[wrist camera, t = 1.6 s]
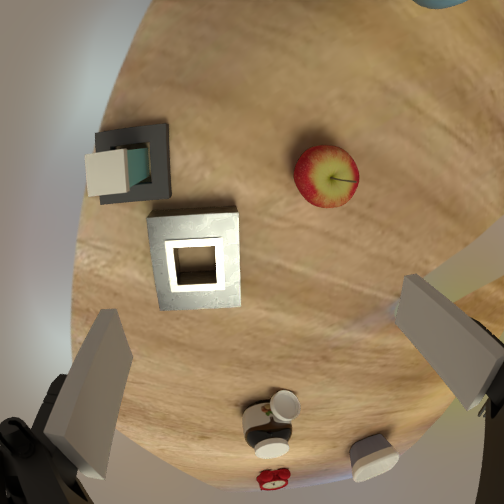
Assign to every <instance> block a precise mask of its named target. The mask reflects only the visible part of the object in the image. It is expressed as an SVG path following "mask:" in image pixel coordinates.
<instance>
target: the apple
mask: <svg viewBox="0 0 504 504" xmlns="http://www.w3.org/2000/svg"><path fill="white" fill-rule="evenodd" d="M294 181H295V184H296V186H297V188H298V190H299V192H300V193H301V195H302V196H303V197H304V198H305V199H306V200H307V201H308V202H309V203H311V204H312V205H314V206H317V207H322V208H334V207H339V206H342V205H344V204H345V203H347V202H348V201H349V200H350V199H351V198H352V196H353V195H354V193H355V191H356V189H357V187H358V183H359V171H358V168H357V166H356V164H355V162H354V160H353V159H352V157H351V156H350V155H349V154H348V153H347V152H346V151H345V150H343V149H341V148H339V147H336V146H330V145H320V146H314V147H311V148H309V149H308V150H306V151H305V152H304V153H303V154H302V155H301V157H300V158H299V160H298V162H297V164H296V166H295V170H294Z"/></svg>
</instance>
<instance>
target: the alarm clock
mask: <svg viewBox="0 0 504 504" xmlns="http://www.w3.org/2000/svg"><path fill="white" fill-rule="evenodd" d="M289 477H290V471H289V470H288V469H285V468H283V469H280V470H274V471H269V470H265V471H263V472H261V474H260V475H259V476H258V477H257V481H258V483H259V485H260V488H261V490H277V489H280V488H283V487H285V486H286V485H287V484H288V480H287V479H288V478H289Z"/></svg>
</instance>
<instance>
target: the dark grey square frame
mask: <svg viewBox="0 0 504 504" xmlns="http://www.w3.org/2000/svg"><path fill="white" fill-rule="evenodd" d="M145 142H150V159H151V177H152V182H141V183H137V184H135V185H133V186H132V187H130V191H128V192H126V193H117V194H107V195H99V196H100V205H104V204H113V203H124V202H135V201H146V200H159V199H169V198H170V197H171V196H172V192H171V175H170V154H169V124H166V123H165V124H155V125H146V126H138V127H131V128H123V129H117V130H110V131H104V132H99V133H95V148H96V153H98V152H105V151H112V150H116V146H120V145H128V144H136V143H145Z"/></svg>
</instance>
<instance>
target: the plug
mask: <svg viewBox="0 0 504 504" xmlns="http://www.w3.org/2000/svg"><path fill="white" fill-rule="evenodd" d="M85 168H86V179H87V189H88V197H91V196H99V195H107V194H117V193H126V192H128V191H130V187H132V186H133V185H135V184H137V183H138V182H140V181H142V180H144V179H145V178H147V177H149V176H150V175H149V157H148V148H142V149H133V150H127V149H119V150H112V151H105V152H98V153H92V154H87V155H85Z"/></svg>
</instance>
